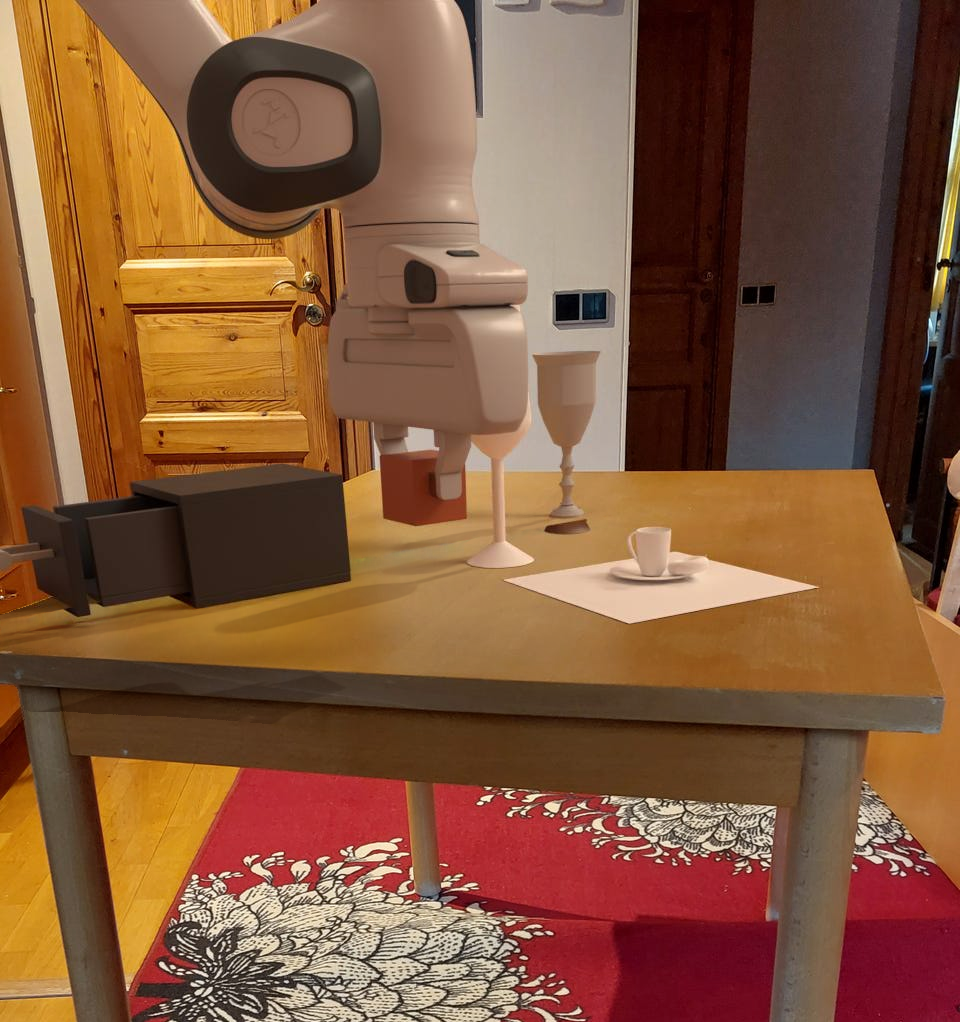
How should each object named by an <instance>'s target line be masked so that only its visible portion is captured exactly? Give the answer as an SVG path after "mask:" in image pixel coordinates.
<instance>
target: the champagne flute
mask: <svg viewBox="0 0 960 1022" xmlns="http://www.w3.org/2000/svg"><path fill="white" fill-rule="evenodd" d="M510 306H513V307H515V308H516V309H517V310H518V311H519V312H520V313H521V304H520V305H510ZM529 390H530V389H529V388H528V404H527V411H526V415H525V417H524V419H523V422H522V424H521V426H520V428H519V429H518V430H517V431H516V432H511V433H503V434H494V435H472V434H471V444H472V445H474V446H475V447H476V448H477V449H478V450H479V451H480V452H481V453H482V454H483V455H485V456H487V457H488V458H489V459H490V468H491V491H492V492H491V495H492V496H491V498H492V499H491V501H492V527H493V529H492V530H493V541H492V542H491V543H489V544H488V545H487V546H485V547H483V548H482V549H481V550H480V551H479V552H477V553H475V554H474V555H473V556H471V557H470V558H468V559H467V560H466V564H467V565H469V566H472V567H477V568H485V569H504V568H515V567H520V566H521V567H522V566H525V565H529V564H531V563H533V562H534V561H535V558H534V557H532V556H531V555H529V554H527V553H526V552H524V551H523V550H521V549H520V548H518V547H516V546H514V545H513V544H512V543H510V542H508V541H507V540H506V537H507V536H506V505H505V504H506V503H505V474H504V473H505V472H504V458H505V457H507V456H508V455H509V454H511V453H512V452H513V450H515V448H516V447H517V446H518V445H519V444H520V443H521V442H522V440H523V439H524V438H525V436H526V434H527V433H528V432H529V430H530V427H531V425H532V420H533V419H532V409H531V400H530V399H531V398H530V391H529Z"/></svg>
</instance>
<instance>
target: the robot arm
mask: <svg viewBox="0 0 960 1022" xmlns="http://www.w3.org/2000/svg"><path fill="white" fill-rule="evenodd" d="M75 2H76V3H77V4H78V5H79V6H80V8H81V9H82V10H83V11H84V13H85V14H86V15H87V16H88V17H89V19H90V20H91V22H92V23H93V24H94V25H95V26H96V28H97V29H98V30H99V31H100V33H101V34H102V35H103V36H104V38H105V39H106V40H107V41H108V43H109V44H110V45H111V46H112V48H113V49H114V50H115V51H116V52H117V54H118V56H120V57H121V59H122V60H123V61H124V63H125V64H126V65H127V67H129V69H130V70H131V71H132V73H133V74H134V75H135V76H136V77H137V79H138V80H139V81H140V82H141V84H142V85H143V86H144V87H145V88H146V90H147V91H148V92H149V94H150V95H151V97H153V99H154V101H156V103H157V104H158V105H159V107H160V108H161V111H162V112H163V113H164V115H165V116H166V118H167V119H168V121H169V123H170V124H171V126H172V128H173V130H174V132H175V135H176V136H177V140H178V143H179V145H180V149H181V152H182V155H183V158H184V161H185V164H186V166H187V170H188V173H189V175H190V178H191V181H192V183H193V185H194V188H195V190H196V191H197V193H198V195H199V197H200V199H201V200H202V202H203V203H204V205H205V206H206V207H207V209H208V210H209V211H210V213H212V214H213V215H214V216H215V218H217V220H219V221H220V222H221V223H222V224H224V225H225V226H226V227H228V228H229V229H231V230H233V231H234V232H237V233H238V234H241V235H244V236H246V237H250V238H254V239H259V240H277V239H282V238H286V237H290V236H292V235H294V234H296V233H298V232H300V231H302V230H303V229H304V228H306V227H307V226H308V225H310V223H312V222H313V221H314V220H315V219H316V218H317V217H318V216H319V214H320V213H321V212H322V210H323V209H333V210H334V209H335V210H337V211H338V212H339V213H340V215H341V217H342V222H343V223H342V225H343V241H344V254H345V268H346V283H345V284H344V285H343V288H342V291H341V294H340V296H339V299H336V303H335V312H334V313H333V315H332V316H331V319H330V321H329V326H328V339H327V340H328V341H327V345H328V346H327V374H328V375H327V377H328V378H327V379H328V382H327V383H328V398H329V403H330V406H331V409H332V411H333V413H334V415H335V417H336V418H338V419H342V420H350V421H358V422H366V423H372V425H373V439H374V442H375V444H376V447H377V450H378V452H379V456H380V455H386V454H395V453H404V452H409V450H408V446H407V442H406V439H405V438H408V437H409V428H416V429H423V430H432V431H433V446H434V447H435V448H438V451H439V452H438V457H437V462H436V467H435V471H434V472H429V484H430V487H429V491H430V495H431V496H432V497H433V498H437V499H442V500H450V499H457V498H459V497H460V496H461V493H462V482H461V471H462V470H463V467H464V465H465V466H466V462H467V459H468V456H469V454H470V451H471V448H472V442H471V434H472V435H494V434H503V433H511V432H516V431H517V430H518V429H519V428H520V426H521V424H522V422H523V419H524V417H525V415H526V411H527V404H528V389H529V353H528V351H529V348H528V346H529V345H528V333H527V327H526V323H525V320H524V318H523V315H522V313H521V311H520V312H519V311H518V310H517V309H516V308H515V307H513V306H510V305H520V306H521V305H522V304H524V303H525V302H526V301H527V298H528V293H529V292H528V291H529V284H528V283H529V279H528V273H527V270H526V269H525V268H524V266H522V265H521V264H519V263H517V262H515V261H513V260H511V259H509V258H507V257H505V256H503V255H502V254H500V253H498V252H496V251H495V250H493V249H492V248H490V247H489V246H488V245H486V244H482V243H480V219H479V218H480V217H479V212H478V210H477V206H476V203H475V199H474V192H473V171H474V166H475V165H474V164H475V162H476V161H475V160H476V157H477V151H478V129H477V126H478V125H477V105H476V89H475V78H474V77H475V76H474V67H473V66H474V65H473V57H472V50H471V43H470V39H469V38H470V37H469V34H468V33H469V32H468V29H467V25H466V21H465V18H464V15H463V13H462V11H461V9H460V6H459V5H458V3H457V2H456V1H455V0H319V1H317V2H316V3H315V4H313V5H312V6H310V7H309V8H307V9H306V10H304V11H302V12H300V13H299V14H298V15H296V16H293V17H292V18H290V19H288V20H286V21H284V22H282V23H279V24H277V25H274V26H273V27H270V28H267V29H264V30H262V31H261V30H260V31H259V32H256V33H253V34H249V35H247V36H244V37H240V38H237V39H235V40H233V39H232V38H231V37H230V36H229V35H228V33H227V32H226V31H225V29H224V28H223V27H222V25H221V24H220V23H219V21H218V20H217V19H216V17H215V15H213V13H212V12H211V11H210V9H209V8H208V7H207V5H206V4H205V2H204V1H203V0H75Z"/></svg>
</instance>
